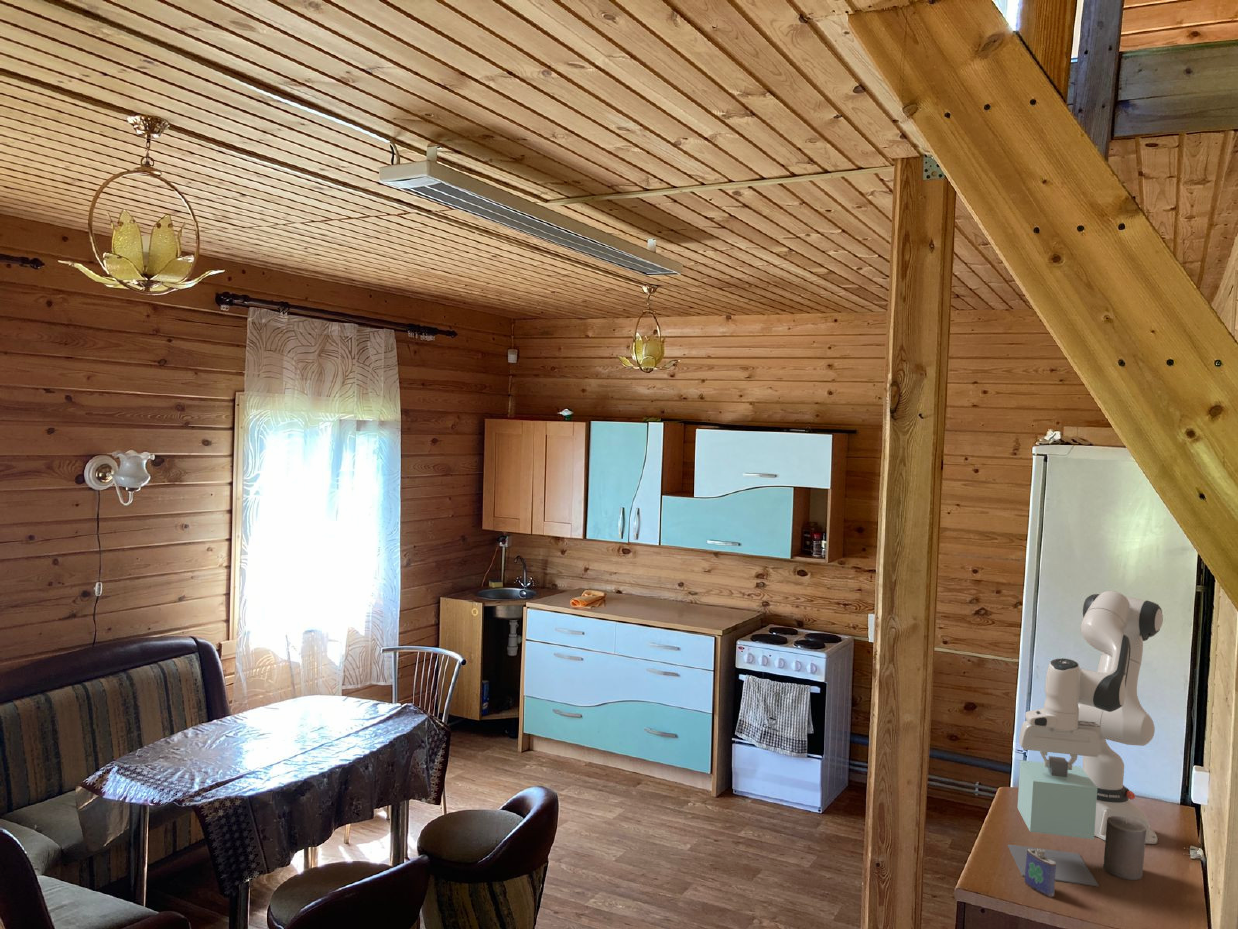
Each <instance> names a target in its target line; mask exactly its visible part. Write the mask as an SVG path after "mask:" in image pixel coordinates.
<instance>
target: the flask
mask: <svg viewBox="0 0 1238 929" xmlns="http://www.w3.org/2000/svg"><path fill="white" fill-rule="evenodd" d="M1041 849H1042V848H1040V849H1037V851H1039V852H1037V851H1036V849H1028V850H1027V857H1026V869H1025V877H1024V882H1023V883H1024V884H1025V885H1027V887H1028V888H1030V889H1032V890H1034V891H1036V892H1037V893H1039V894H1041V895H1042V896H1044V897H1047V898H1051V899H1052V898H1054V897H1055V883H1056V881H1055V872H1056V862H1054V861H1052V860H1050V859H1048V858H1046V857H1044V856H1043V855H1044V853H1045V851H1044V850H1043V851H1042V850H1041Z"/></svg>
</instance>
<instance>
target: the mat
mask: <svg viewBox="0 0 1238 929" xmlns="http://www.w3.org/2000/svg"><path fill="white" fill-rule="evenodd" d="M1007 847H1008V849H1009V851H1010V854H1011V856H1012V858H1013V860H1014V861H1015V864H1016V866H1017V869H1018V870H1019V873H1020V875H1021V877H1024V878H1025V869H1026V857H1027V850H1028V849H1036V851H1037V849H1041V850H1042V851H1043V850H1044V851H1045V853H1044V855H1043V856H1044V857H1046V858H1048V859H1050V860H1052V861H1054V862H1056V872H1055V882H1063V883H1069V884H1078V885H1084V886H1091V887H1092V886H1093V887H1099V886H1100V885H1099V883H1098V882H1097V880H1096V879H1095V877H1094V875H1093V874H1092V872H1091V871H1090V869H1089V868H1088V866H1087V864H1086V863H1085V861H1084V860H1083V858H1082V857H1081V855H1080V854H1079V852H1078V853H1077V852H1069V851H1062V850H1054V849H1048V848H1040V847H1031V846H1024V845H1015V844H1007ZM1037 852H1039V851H1037Z"/></svg>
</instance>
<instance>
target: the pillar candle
mask: <svg viewBox="0 0 1238 929" xmlns="http://www.w3.org/2000/svg"><path fill="white" fill-rule="evenodd" d="M1145 838H1146V826H1145V825H1144V824H1143V823H1141V822H1139V821H1136V820H1134V819H1131V818H1127V817H1123V816H1111V817H1108V819H1107V827H1106V840H1104V841H1105V842H1104V856H1103V865H1102V868H1103V870H1105V872H1107V873H1108V874H1110V875H1112V876H1114V877H1117V878H1121V879H1124V880H1129V881H1136V880H1137V881H1138V880H1141V879H1142V878H1143V873H1144V863H1145V862H1144V861H1145V848H1146V843H1145Z"/></svg>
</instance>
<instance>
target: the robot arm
mask: <svg viewBox="0 0 1238 929" xmlns="http://www.w3.org/2000/svg"><path fill="white" fill-rule="evenodd" d="M1082 616H1083V617H1082V620H1081V624H1080V631H1081V635H1082V637H1083V639H1084V640H1085V641H1086V642H1087V643H1088V644H1089V645H1090V646H1091V647H1092V648H1093V649H1095V650H1097V651H1100V652H1101V654H1100V658H1099V662H1098V666H1097V670H1096V671H1094V670H1089V669H1084V668H1083V667H1082V668H1081V667H1080V664H1079V663H1078V662H1077V661H1075V660H1074V659H1070V658H1063V657H1062V658H1055V659H1052V660H1050V662H1049V664H1048V667H1047V671H1046V677H1045V682H1044V683H1045V686H1044V692H1045V701H1044V704H1043V707H1042V708H1037V709H1033V710H1032V709H1031V710H1028V711H1026V712H1025V715H1024V716H1025V721H1023V723H1022V725H1021V727H1020V731H1019V739H1018V740H1019V741H1018V743H1019V746H1020V747H1021V748H1022V749H1023V750H1025V751H1033V752H1034V751H1035V752H1039V753H1040V755H1041V757H1042V759H1043V763H1044V767H1046V768H1051V761H1050V760H1049V759H1048V758H1047V757H1046V756H1048V753H1054V754H1064V755H1069V757H1070V758H1069V759H1068V761H1067V762H1068V770H1072V766H1073V765H1074V764H1075V763H1076V761H1077V760H1078V756H1081V757H1082V769H1083V770H1084V772H1085V773H1086V774H1087V775H1088V777H1089V778H1090V779H1091V781H1092V782H1093V783H1094V784H1095V786H1096V787H1097V802H1096V817H1095V832H1094V837H1096V838H1097V837H1098V838H1099V839H1101V840H1103V841H1105V840H1106V827H1107V819H1108V817H1111V816H1123V817H1127V818H1131V819H1134V820H1136V821H1139V822H1141V823H1143V824H1144V825H1145V826H1146V838H1145V844H1149V845H1150V844H1151V845H1155V844H1157V843H1158V836H1157V835H1158V834H1156V833H1155V831H1154V830H1153V829H1152V828H1150V823H1149V820H1148V817H1147V815H1146V814H1145V813H1144V811H1142V809H1140V808H1139V806H1137V805H1136V804H1135V803H1134V802H1132V801H1131V800H1135V799H1136V794H1135V793H1134V792H1133V791H1131V790H1130V789H1129V788H1127V787H1126V786H1125V785H1124V776H1125V763H1124V761H1123V758H1122V757H1121V756H1120V755H1119V753H1117V752H1116V751H1114V750H1113V749H1112V748H1111V747H1110V746H1109V744H1108V743H1107V740H1108V741H1112V742H1114V743H1115V742H1116V743H1119V744H1123V745H1126V746H1127V745H1128V746H1142V747H1144V746H1146V745H1147V744H1149V743H1150V742H1151V741H1152V740H1153V738H1154V736H1155V730H1156V727H1155V723H1154V721H1153V719H1152V717H1151V716H1150V715H1149V714H1148V713H1147V711H1146V710H1145V709H1144V707H1143V706H1142V704H1141V702H1140V699H1139V697H1138V689H1137V688H1138V680H1139V674H1140V671H1141V670H1140V669H1141V665H1142V660H1143V652H1144V651H1143V650H1144V649H1143V648H1144V642H1145V641H1148V640H1149V638H1152V637H1154V636H1156V634H1158V633H1159V632H1160V630H1161V628H1162V625H1163V621H1164V615H1163V610H1162V608H1161V606H1160V604H1158V603H1157V602H1153V601H1150V600H1148V599H1147V600H1143V599H1139V598H1136V597H1131V596H1125V595H1124V594H1122V593H1121V592H1118V591H1114V590H1105V591H1103V592H1101V593H1095V594H1094V593H1093V594H1090V595H1088V597H1086V598H1085V599H1084V602H1083V606H1082Z"/></svg>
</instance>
